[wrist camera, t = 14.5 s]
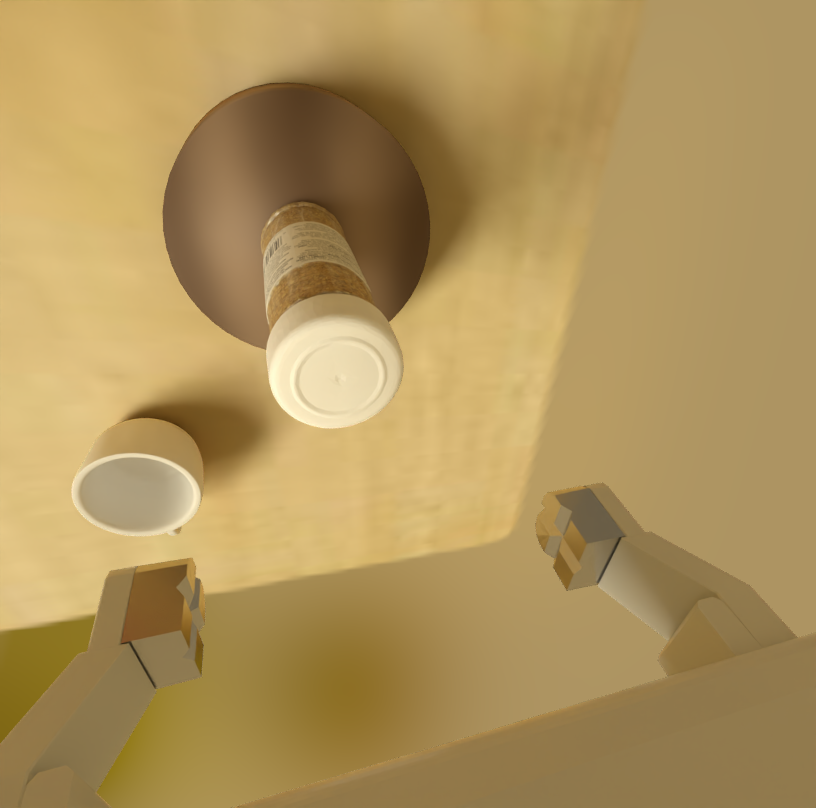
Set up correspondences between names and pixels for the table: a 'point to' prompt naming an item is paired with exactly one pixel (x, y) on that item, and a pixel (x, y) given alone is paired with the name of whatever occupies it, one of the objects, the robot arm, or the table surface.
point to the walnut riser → (289, 199)
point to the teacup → (140, 479)
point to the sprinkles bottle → (323, 323)
